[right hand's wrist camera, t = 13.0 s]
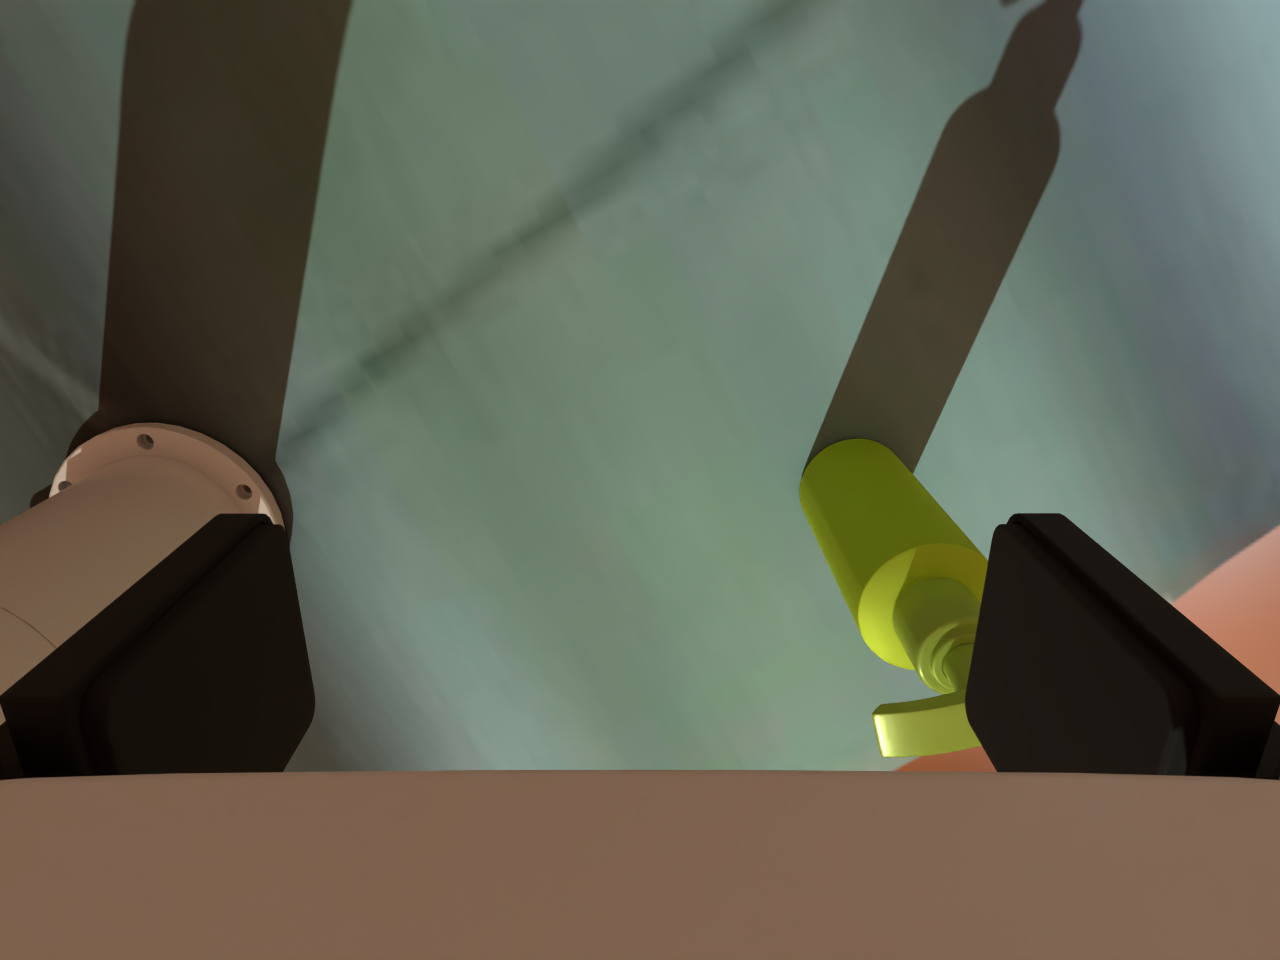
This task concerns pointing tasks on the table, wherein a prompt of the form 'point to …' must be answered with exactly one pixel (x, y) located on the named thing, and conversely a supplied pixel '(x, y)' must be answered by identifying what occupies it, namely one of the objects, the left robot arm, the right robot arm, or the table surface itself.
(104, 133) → the table surface
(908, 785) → the right robot arm
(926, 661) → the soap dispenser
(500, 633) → the table surface
